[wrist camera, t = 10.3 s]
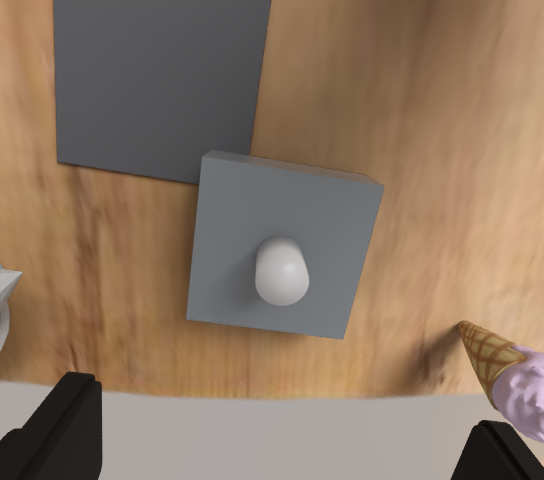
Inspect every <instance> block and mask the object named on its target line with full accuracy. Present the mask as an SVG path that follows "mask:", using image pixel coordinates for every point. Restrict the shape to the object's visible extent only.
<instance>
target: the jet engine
mask: <svg viewBox="0 0 544 480" xmlns="http://www.w3.org/2000/svg"><path fill="white" fill-rule="evenodd" d="M22 273H23V272H20V271H13V270H5V269H3V267H2V265H1V264H0V350H1V349H2V347H3V344H4V342H5V339H6V337H7V334H8V332H9V319H10V312H9V308H8V303H7V300H8V299H9V297H10V295H11V293H12V291H13V289H14V288H15V286H16V284H17V282H18V280H19V279H20V277H21V275H22Z"/></svg>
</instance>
